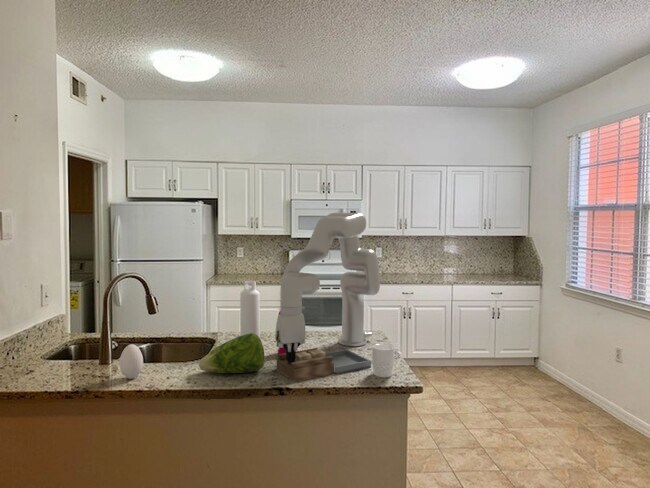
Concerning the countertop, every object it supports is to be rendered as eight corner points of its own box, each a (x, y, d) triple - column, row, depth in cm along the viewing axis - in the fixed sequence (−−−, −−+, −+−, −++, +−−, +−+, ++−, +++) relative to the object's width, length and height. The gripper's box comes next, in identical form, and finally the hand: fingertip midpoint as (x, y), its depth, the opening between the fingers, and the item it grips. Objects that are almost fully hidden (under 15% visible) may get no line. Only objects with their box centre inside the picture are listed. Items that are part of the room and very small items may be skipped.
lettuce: (204, 379, 167) (197, 343, 167) (267, 363, 170) (260, 329, 171) (199, 388, 153) (191, 349, 153) (267, 371, 156) (259, 333, 157)
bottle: (237, 348, 190) (237, 282, 188) (244, 343, 198) (244, 279, 196) (255, 350, 188) (255, 283, 186) (262, 344, 196) (262, 280, 194)
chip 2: (319, 355, 169) (319, 349, 169) (325, 359, 165) (325, 352, 165) (308, 357, 167) (308, 350, 166) (314, 361, 163) (314, 354, 163)
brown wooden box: (314, 362, 174) (314, 347, 173) (333, 373, 162) (334, 357, 161) (276, 369, 165) (276, 353, 165) (293, 381, 153) (294, 364, 153)
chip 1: (305, 358, 166) (305, 351, 166) (311, 361, 162) (311, 354, 162) (294, 360, 163) (294, 353, 163) (299, 363, 160) (299, 356, 159)
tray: (347, 355, 183) (347, 349, 182) (370, 367, 169) (370, 360, 169) (313, 361, 175) (313, 355, 174) (336, 374, 161) (336, 367, 161)
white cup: (367, 371, 164) (368, 344, 163) (386, 369, 167) (387, 342, 166) (378, 379, 156) (379, 351, 156) (398, 376, 160) (398, 348, 159)
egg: (124, 374, 158) (123, 341, 157) (146, 374, 159) (145, 341, 158) (116, 382, 151) (115, 347, 150) (139, 382, 151) (138, 347, 151)
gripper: (304, 306, 166) (304, 355, 167) (267, 310, 158) (267, 362, 160) (314, 310, 160) (314, 361, 161) (276, 314, 152) (276, 368, 153)
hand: (290, 361), depth 160 cm, fingers closed
